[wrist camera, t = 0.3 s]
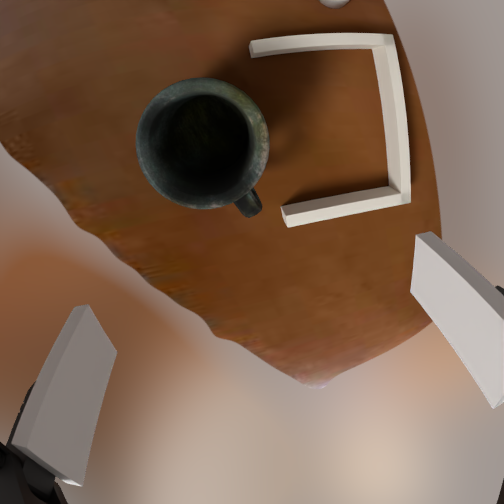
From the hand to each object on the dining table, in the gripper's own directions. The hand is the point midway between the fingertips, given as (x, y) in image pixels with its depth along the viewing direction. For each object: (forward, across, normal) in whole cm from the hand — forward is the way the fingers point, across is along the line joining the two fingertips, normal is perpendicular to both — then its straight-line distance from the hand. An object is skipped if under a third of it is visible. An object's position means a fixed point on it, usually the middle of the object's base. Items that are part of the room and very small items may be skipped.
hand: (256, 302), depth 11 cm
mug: (+28, -2, +2) cm, 28 cm away
